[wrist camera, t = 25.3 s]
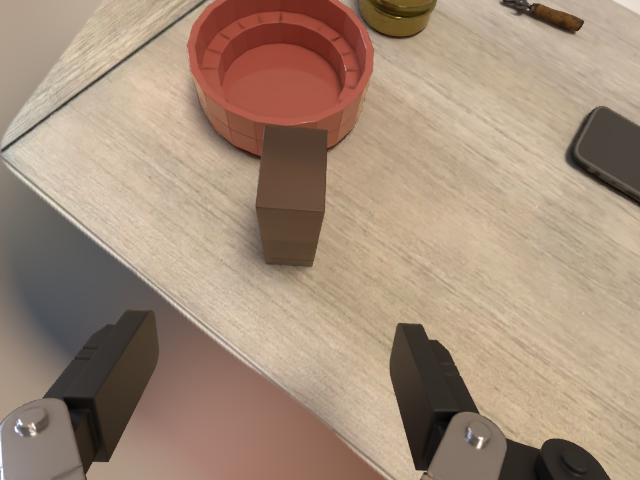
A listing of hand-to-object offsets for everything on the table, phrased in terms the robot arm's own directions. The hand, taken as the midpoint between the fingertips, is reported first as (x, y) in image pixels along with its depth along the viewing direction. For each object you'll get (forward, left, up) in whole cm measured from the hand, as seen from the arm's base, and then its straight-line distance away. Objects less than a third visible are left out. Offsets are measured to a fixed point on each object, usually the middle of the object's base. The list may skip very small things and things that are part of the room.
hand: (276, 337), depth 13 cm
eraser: (+5, +8, -14) cm, 17 cm away
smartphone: (+36, -3, -14) cm, 39 cm away
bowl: (+11, +20, -14) cm, 27 cm away
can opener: (+40, +17, -14) cm, 46 cm away
